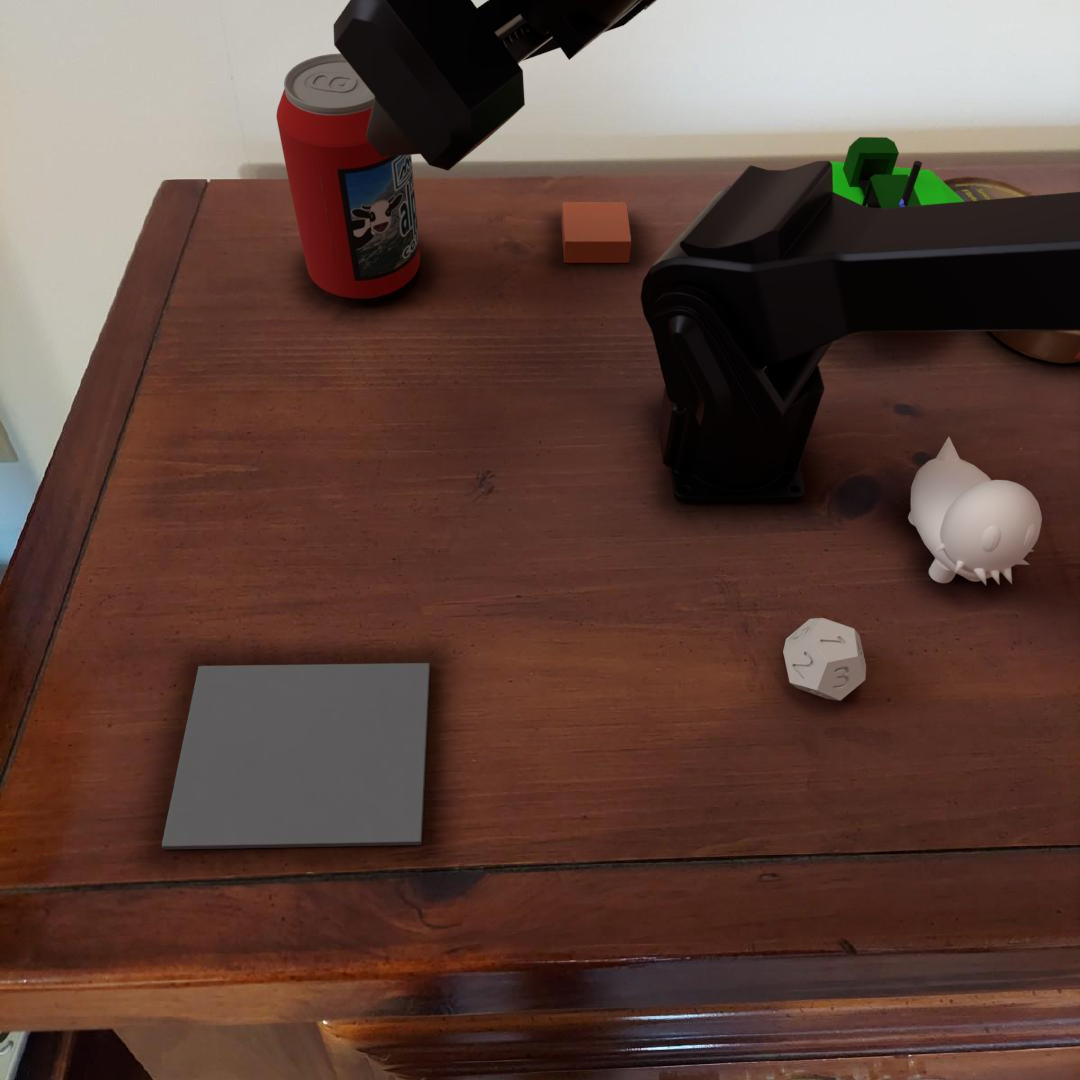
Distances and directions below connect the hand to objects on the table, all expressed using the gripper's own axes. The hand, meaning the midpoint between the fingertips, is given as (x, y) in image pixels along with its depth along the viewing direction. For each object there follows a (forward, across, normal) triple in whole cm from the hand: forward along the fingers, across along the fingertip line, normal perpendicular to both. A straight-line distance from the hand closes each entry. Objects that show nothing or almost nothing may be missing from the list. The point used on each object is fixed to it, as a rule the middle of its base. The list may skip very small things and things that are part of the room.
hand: (437, 99), depth 47 cm
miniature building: (-1, -15, +23) cm, 27 cm away
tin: (-6, -18, +26) cm, 32 cm away
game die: (-7, +10, +29) cm, 32 cm away
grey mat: (+4, +25, +17) cm, 30 cm away
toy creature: (-8, 0, +31) cm, 32 cm away
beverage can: (+15, -1, +4) cm, 16 cm away
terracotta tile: (+9, -12, +11) cm, 18 cm away
